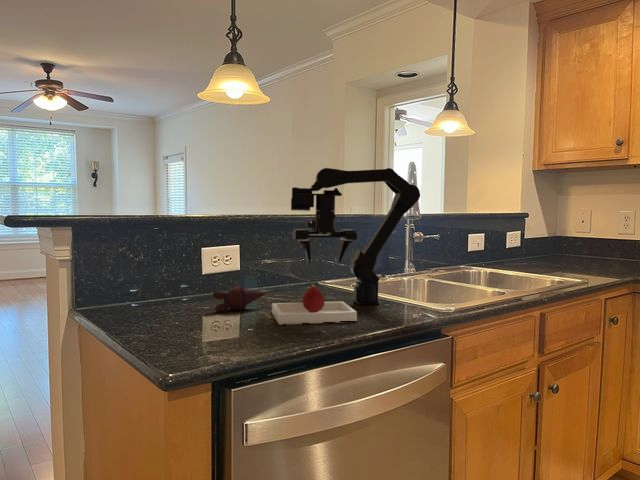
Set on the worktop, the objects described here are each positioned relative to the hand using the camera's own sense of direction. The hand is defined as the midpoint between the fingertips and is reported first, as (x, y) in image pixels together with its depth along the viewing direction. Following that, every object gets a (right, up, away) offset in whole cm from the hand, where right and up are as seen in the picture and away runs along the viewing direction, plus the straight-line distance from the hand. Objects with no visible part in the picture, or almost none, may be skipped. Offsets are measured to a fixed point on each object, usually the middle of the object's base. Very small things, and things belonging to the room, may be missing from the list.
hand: (324, 263), depth 142 cm
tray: (-3, -13, -17) cm, 22 cm away
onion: (-3, -13, -17) cm, 22 cm away
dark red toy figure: (-24, -13, -10) cm, 29 cm away
